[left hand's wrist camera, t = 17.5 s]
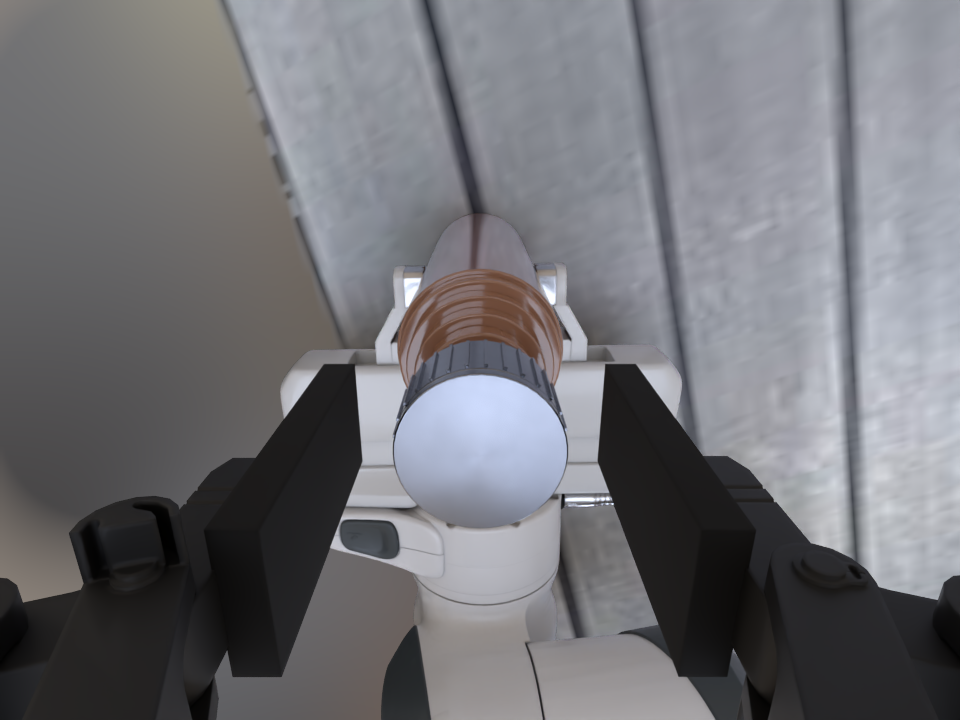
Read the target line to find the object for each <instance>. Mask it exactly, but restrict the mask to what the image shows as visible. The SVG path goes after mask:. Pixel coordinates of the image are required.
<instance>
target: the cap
mask: <svg viewBox="0 0 960 720" xmlns="http://www.w3.org/2000/svg"><path fill="white" fill-rule="evenodd" d="M396 421H397V423H396V426H395V429H394V433H393V438H394V440H393V462H394V466H395V470H396V474H397V476H398V478H399V481H400V483H401V485H402V486H403V488H404V490H405V491H406V493H407V494H408V495H409V496H410V498H411V499H412V500H413V501H414V502H415V503H416V504H417V505H418V506H419V507H420V508H422V509H423V510H424V511H426V512H427V513H428V514H430V515H432V516H434V517H435V518H437V519H439V520H442V521H444V522H446V523H450V524H453V525H456V526H461V527H466V528H478V529H481V528H494V527H501V526H504V525H508V524H512V523H514V522H517V521H519V520H522V519H523V518H525V517H527V516H529V515H531V514H532V513H534V512H535V511H537V510H538V509H539V508H540V507H542V506H543V505H544V504H545V503H546V502H547V501H548V500H549V499H550V497H551V496H552V495H553V494H554V492H555V491H556V489H557V488H558V486H559V485H560V482H561V480H562V478H563V476H564V473H565V470H566V467H567V461H568V441H567V435H566V431H568V430H567V426H566V423H565V420H564V416H563V413H562V410H561V406H560V403H559V400H558V397H557V394H556V390H555V387H554V384H553V383H550V381H549V379H548V376H547V373H546V371H545V369H543V370H542V369H541V368H540V366H539V365H538V364H537V363H536V362H535V359H534V358H533V357H532V358H530V357H529V356H527V355H526V354H524V353H523V352H521V349H519V348H518V349H516V348H514V347H511V346H508V345H506V344H505V343H504V342H501V343H498V342H493V341H487V339H484V341H482V340H481V341H470V340H466V342H462V343H459V344H455V345H453V344H451V345H449V347H447V348H445V349H443V350H441V351H440V352H437V351H436V352H435V353H434V355H433V356H432V357H431V358H430V359H428V360H427V361H426V362H425V363H424V362H422V363H421V366H420V368H419V370H418V371H417V373H416V374H415V375H412V376H411V379H410V382H409V386H408V389H405V392H404V395H403V398H402V402H401V405H400V408H399V411H398V415H397V418H396Z"/></svg>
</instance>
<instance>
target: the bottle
mask: <svg viewBox="0 0 960 720" xmlns="http://www.w3.org/2000/svg"><path fill="white" fill-rule="evenodd" d="M484 339H487V341H493V342H498V343H501V342H504V343H505V344H506V345H508V346H511V347H514V348H516V349H518V348H519V349H521V352H523V353H524V354H526V355H527V356H529V357H530V358H532V357H533V358H534V359H535V362H536V363H537V364H538V365H539V366H540V368H541V369H542V370H543V369H545V371H546V373H547V376H548V379H549V381H550V383H553V384H554V387H555V384H556V382H557V379H558V376H559V372H560V368H561V363H562V358H563V337H562V331H561V327H560V324H559V321H558V318H557V316H556V314H555V312H554V310H553V307H552V305H551V303H550V301H549V299H548V297H547V294H546V292H545V290H544V288H543V286H542V283H541V281H540V279H539V277H538V275H537V273H536V270H535V268H534V266H533V264H532V262H531V259H530V257H529V255H528V253H527V251H526V248H525V246H524V244H523V242H522V240H521V238H520V236H519V234H518V233H517V231H516V230H515V229H514V228H513V227H512V226H511V225H510V224H509V223H508V222H506V221H505V220H503V219H501V218H499V217H497V216H494V215H491V214H485V213H476V214H470V215H466V216H463V217H461V218H459V219H457V220H455V221H454V222H453V223H451V224H450V225H449V226H448V227H447V228H446V229H445V230H444V232H443V233H442V235H441V236H440V238H439V240H438V242H437V244H436V247H435V249H434V251H433V253H432V256H431V258H430V260H429V262H428V264H427V267H426V269H425V271H424V273H423V275H422V278H421V280H420V282H419V284H418V286H417V289H416V291H415V293H414V295H413V298H412V300H411V302H410V304H409V306H408V309H407V311H406V313H405V315H404V318H403V320H402V322H401V326H400V329H399V334H398V341H397V354H398V361H399V365H400V371H401V374H402V378H403V381H404V383H405V385H406V388H407V389H408V386H409V382H410V379H411V376H412V375H415V374H416V373H417V371H418V370H419V368H420V366H421V363H422V362H424V363H425V362H426V361H427V360H428V359H430V358H431V357H432V356H433V355H434V353H435V352H436V351H437V352H440V351H441V350H443V349H445V348H447V347H449V345H451V344H453V345H455V344H459V343H462V342H466V340H470V341H481V340H482V341H484Z"/></svg>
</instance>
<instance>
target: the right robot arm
mask: <svg viewBox="0 0 960 720" xmlns="http://www.w3.org/2000/svg"><path fill="white" fill-rule="evenodd" d="M534 268H535V270H536V273H537V275H538V277H539V279H540V281H541V283H542V286H543V288H544V290H545V292H546V294H547V297H548V299H549V301H550V303H551V305H553V307H554V309H555V311H556V313H557V314H558V316H559V318H560V320H561V321H562V323H563V325H564V327H565V329H564V328H563V327H561V331H562V337H563V358H562V363H561V368H560V372H559V376H558V379H557V382H556V384H555V390H556V394H557V397H558V400H559V403H560V406H561V410H562V413H563V416H564V420H565V423H566V426H567V430H568V431H566V435H567V441H568V461H567V467H566V470H565V473H564V476H563V478H562V480H561V482H560V485H559V486H558V488H557V489H556V491H555V492H554V494H553V495H552V496H551V497H550V499H549V500H548V501H547V502H546V503H545V504H544V505H543V506H542V507H540V508H539V509H538V510H537V511H535V512H534V513H532V514H531V515H529V516H527V517H525V518H523V519H522V520H519V521H517V522H514V523H512V524H508V525H504V526H501V527H494V528H481V529H478V528H466V527H461V526H456V525H453V524H450V523H446V522H444V521H442V520H439V519H437V518H435V517H434V516H432V515H430V514H428V513H427V512H426V511H424V510H423V509H422V508H420V507H419V506H418V505H417V504H416V503H415V502H414V501H413V500H412V499H411V498H410V496H409V495H408V494H407V493H406V491H405V490H404V488H403V486H402V485H401V483H400V481H399V478H398V476H397V474H396V470H395V466H394V462H393V440H394V438H393V433H394V429H395V426H396V423H397V421H396V418H397V415H398V411H399V408H400V405H401V402H402V398H403V395H404V392H405V389H407V388H406V385H405V383H404V381H403V378H402V374H401V371H400V365H399V361H398V354H397V341H398V334H399V331H398V332H397V329H398V327H399V325H400V323H401V321H402V319H403V317H404V315H405V313H406V311H407V309H408V306H409V304H410V302H411V300H412V298H413V295H414V293H415V291H416V289H417V286H418V284H419V282H420V280H421V278H422V275H423V273H424V271H425V269H426V266H396V267H395V269H394V271H393V287H394V302H395V304H394V306H393V308H392V310H391V312H390V314H389V316H388V318H387V320H386V322H385V324H384V326H383V327H382V329H381V331H380V333H379V335H378V337H377V339H376V341H375V349H335V350H310V351H308V352H306V353H305V354H304V355H303V356H302V357H301V358H300V359H299V360H298V361H297V362H296V363H295V364H294V365H293V366H292V367H291V369H290V370H289V371H288V373H287V374H286V376H285V377H284V379H283V382H282V385H281V389H280V396H281V405H282V411H283V416H284V418H285V417H286V416H287V414H288V413H289V411H290V410H291V409H292V407H293V406H294V405H295V403H296V402H297V400H298V399H299V398H300V396H301V395H302V394H303V392H304V391H305V389H306V388H307V387H308V385H309V384H310V382H311V381H312V380H313V378H314V377H315V376H316V374H317V373H318V371H319V370H320V369H321V367H322V366H323V365H324V364H355V372H356V385H357V397H358V410H359V422H360V435H361V447H362V460H363V461H362V464H361V467H360V469H359V472H358V475H357V477H356V480H355V483H354V485H353V488H352V491H351V493H350V496H349V499H348V501H347V504H346V507H345V509H344V512H343V515H342V517H341V520H340V523H339V525H338V528H337V531H336V533H335V536H334V539H333V541H332V544H331V547H330V548H332V549H335V550H338V551H342V552H346V553H351V554H355V555H359V556H362V557H367V558H370V559H374V560H377V561H381V562H384V563H387V564H390V565H393V566H396V567H399V568H402V569H405V570H407V571H410V572H412V574H413V576H414V579H415V581H416V583H417V587H418V593H417V596H416V600H415V605H414V613H413V617H414V626H413V627H412V628H411V630H410V631H409V632H408V633H407V635H406V636H405V638H404V639H403V641H402V642H401V644H400V646H399V647H398V649H397V651H396V652H395V654H394V656H393V658H392V659H391V661H390V663H389V665H388V667H387V670H386V675H385V679H384V685H383V692H382V705H381V720H736V718H737V713H738V709H739V704H740V699H741V694H742V690H743V685H744V680H745V676H746V672H745V670H744V668H743V666H742V664H741V662H740V660H739V658H738V657H737V656H736V655H735V654H734V653H733V652H732V656H731V661H730V666H729V671H728V676H727V677H678V674H677V672H676V669H675V666H674V664H673V661H672V658H671V656H670V653H669V650H668V648H667V645H666V642H665V640H664V637H663V634H662V632H661V629H660V626H659V625H655V626H650V627H645V628H639V629H634V630H629V631H624V632H621V633H619V634H617V635H608V636H597V637H586V638H574V639H563V640H556V631H557V607H556V601H555V598H554V595H553V592H552V584H553V582H554V579H555V576H556V574H557V570H558V565H559V555H560V528H561V509H562V508H571V507H594V506H599V505H600V506H603V505H614V504H613V501H612V499H611V496H610V493H609V491H608V488H607V485H606V483H605V480H604V477H603V475H602V472H601V469H600V467H599V464H598V461H597V460H598V447H599V435H600V422H601V410H602V397H603V385H604V372H605V364H636V365H637V366H638V367H639V369H640V370H641V371H642V373H643V374H644V376H645V377H646V378H647V380H648V381H649V382H650V384H651V385H652V387H653V388H654V389H655V391H656V392H657V394H658V395H659V396H660V398H661V399H662V400H663V402H664V403H665V405H666V406H667V407H668V409H669V410H670V411H671V413H672V414H673V416H674V417H675V418H676V417H677V412H678V407H679V402H680V396H681V389H682V380H681V377H680V374H679V372H678V371H677V369H676V368H675V366H674V365H673V364H672V362H671V361H670V360H669V359H668V358H667V357H666V356H665V355H664V354H663V353H662V352H661V351H660V350H659V349H658V348H657V347H655V346H653V345H649V344H635V345H587V337H586V336H585V334H584V332H583V330H582V328H581V326H580V325H579V323H578V321H577V319H576V317H575V316H574V314H573V312H572V310H571V308H570V307H569V305H568V303H567V301H566V292H567V270H566V266H565V265H564V263H539V264H534Z"/></svg>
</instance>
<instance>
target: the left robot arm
mask: <svg viewBox="0 0 960 720" xmlns="http://www.w3.org/2000/svg"><path fill="white" fill-rule="evenodd" d="M362 461H363V460H362V447H361V435H360V422H359V410H358V397H357V385H356V372H355V364H324V365H323V366H322V367H321V369H320V370H319V371H318V373H317V374H316V376H315V377H314V378H313V380H312V381H311V382H310V384H309V385H308V387H307V388H306V389H305V391H304V392H303V394H302V395H301V396H300V398H299V399H298V400H297V402H296V403H295V405H294V406H293V407H292V409H291V410H290V411H289V413H288V414H287V416H286V417H285V418H284V420H283V421H282V422H281V424H280V425H279V427H278V428H277V429H276V431H275V432H274V434H273V435H272V436H271V438H270V439H269V440H268V442H267V443H266V445H265V446H264V447H263V449H262V450H261V452H260V453H259V454H258V456H257V457H256V458H232V459H231V460H229V461H227V462H226V463H224V464H223V465H221V466H220V467H218V468H216V469H215V470H213V471H211V472H210V474H209V475H208V476H207V477H206V479H205V480H204V481H203V482H202V483H201V485H200V486H199V487H198V491H195V492H194V493H193V494H192V495H191V497H190V498H189V499H188V500H187V504H184V505H183V506H182V507H181V509H180V510H179V507H178V505H177V504H176V503H175V502H173V501H172V500H171V499H168V498H163V497H157V496H148V497H135V498H131V499H127V500H123V501H119V502H115V503H113V504H110V505H108V506H106V507H103V508H101V509H98V510H96V511H94V512H93V513H91V514H90V515H88V516H87V517H85V518H84V519H82V520H81V521H79V522H78V523H77V524H76V526H75V527H74V528H73V529H72V530H71V531H70V532H69V535H70V538H71V542H72V545H73V549H74V552H75V555H76V559H77V562H78V566H79V569H80V572H81V576H82V579H83V583H84V584H83V586H82V588H81V590H78V591H75V592H72V593H66V594H62V595H57V596H52V597H48V598H43V599H38V600H33V601H29V602H24V603H23V602H22V599H21V596H20V593H19V590H18V587H17V585H16V584H14V583H13V582H12V581H10V580H9V579H7V578H0V720H216V717H217V708H218V699H219V698H218V692H217V685H216V680H215V676H214V675H215V673H216V671H217V669H218V667H219V665H220V663H221V661H222V659H223V657H224V655H225V653H226V651H228V656H229V661H230V665H231V671H232V676H233V677H282V674H283V672H284V669H285V666H286V664H287V661H288V658H289V656H290V653H291V650H292V648H293V645H294V642H295V640H296V637H297V634H298V632H299V629H300V626H301V624H302V621H303V618H304V616H305V613H306V610H307V608H308V605H309V603H310V600H311V597H312V595H313V592H314V589H315V587H316V584H317V581H318V579H319V576H320V573H321V570H322V568H323V565H324V563H325V560H326V557H327V555H328V552H329V549H330V547H331V544H332V541H333V539H334V536H335V533H336V531H337V528H338V525H339V523H340V520H341V517H342V515H343V512H344V509H345V507H346V504H347V501H348V499H349V496H350V493H351V491H352V488H353V485H354V483H355V480H356V477H357V475H358V472H359V469H360V467H361V464H362ZM597 461H598V464H599V467H600V469H601V472H602V475H603V477H604V480H605V483H606V485H607V488H608V491H609V493H610V496H611V499H612V501H613V504H614V507H615V509H616V512H617V515H618V517H619V520H620V523H621V525H622V528H623V531H624V533H625V536H626V539H627V541H628V544H629V547H630V549H631V552H632V555H633V557H634V560H635V563H636V565H637V568H638V571H639V573H640V576H641V579H642V581H643V584H644V587H645V589H646V592H647V595H648V597H649V600H650V603H651V605H652V608H653V611H654V613H655V616H656V619H657V621H658V624H659V626H660V629H661V632H662V634H663V637H664V640H665V642H666V645H667V648H668V650H669V653H670V656H671V658H672V661H673V664H674V666H675V669H676V672H677V674H678V677H727V676H728V671H729V666H730V661H731V656H732V651H733V648H734V650H735V652H736V654H737V656H738V658H739V660H740V662H741V664H742V666H743V668H744V670H745V672H746V676H745V680H744V685H743V690H742V694H741V699H740V704H739V709H738V713H737V718H736V720H960V575H959V576H953V577H951V578H950V579H948V580H947V581H946V582H944V584H943V587H942V590H941V593H940V596H939V599H938V600H934V599H929V598H925V597H920V596H915V595H910V594H906V593H901V592H896V591H891V590H887V589H884V588H880V587H878V585H877V583H876V582H875V580H874V579H873V578H872V576H871V575H870V574H869V572H868V571H867V570H866V569H865V568H864V567H862V566H861V565H860V564H858V563H857V562H856V561H854V560H853V559H852V558H850V557H848V556H846V555H843V554H841V553H839V552H837V551H835V550H833V549H830V548H826V547H823V546H819V545H816V544H811V543H810V542H809V541H808V539H807V538H806V537H805V536H804V535H803V533H802V532H801V531H800V530H799V529H798V527H797V526H796V525H795V524H794V523H793V521H792V520H791V519H790V518H789V517H788V516H787V514H786V513H785V512H784V511H783V510H782V508H781V507H780V506H779V505H778V504H777V502H774V499H773V498H772V496H771V495H770V494H769V493H768V492H767V490H766V489H763V486H762V484H761V483H760V482H759V481H758V480H757V479H756V477H755V476H754V475H753V474H752V473H751V471H750V470H749V469H747V468H745V467H744V466H742V465H741V464H739V463H737V462H736V461H734V460H733V459H731V458H729V457H728V456H702V454H701V453H700V451H699V450H698V449H697V447H696V446H695V445H694V443H693V442H692V440H691V439H690V438H689V436H688V435H687V434H686V432H685V431H684V429H683V428H682V427H681V425H680V424H679V423H678V421H677V420H676V418H675V417H674V416H673V414H672V413H671V411H670V410H669V409H668V407H667V406H666V405H665V403H664V402H663V400H662V399H661V398H660V396H659V395H658V394H657V392H656V391H655V389H654V388H653V387H652V385H651V384H650V382H649V381H648V380H647V378H646V377H645V376H644V374H643V373H642V371H641V370H640V369H639V367H638V366H637V365H636V364H605V372H604V385H603V397H602V410H601V422H600V435H599V447H598V460H597Z"/></svg>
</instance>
